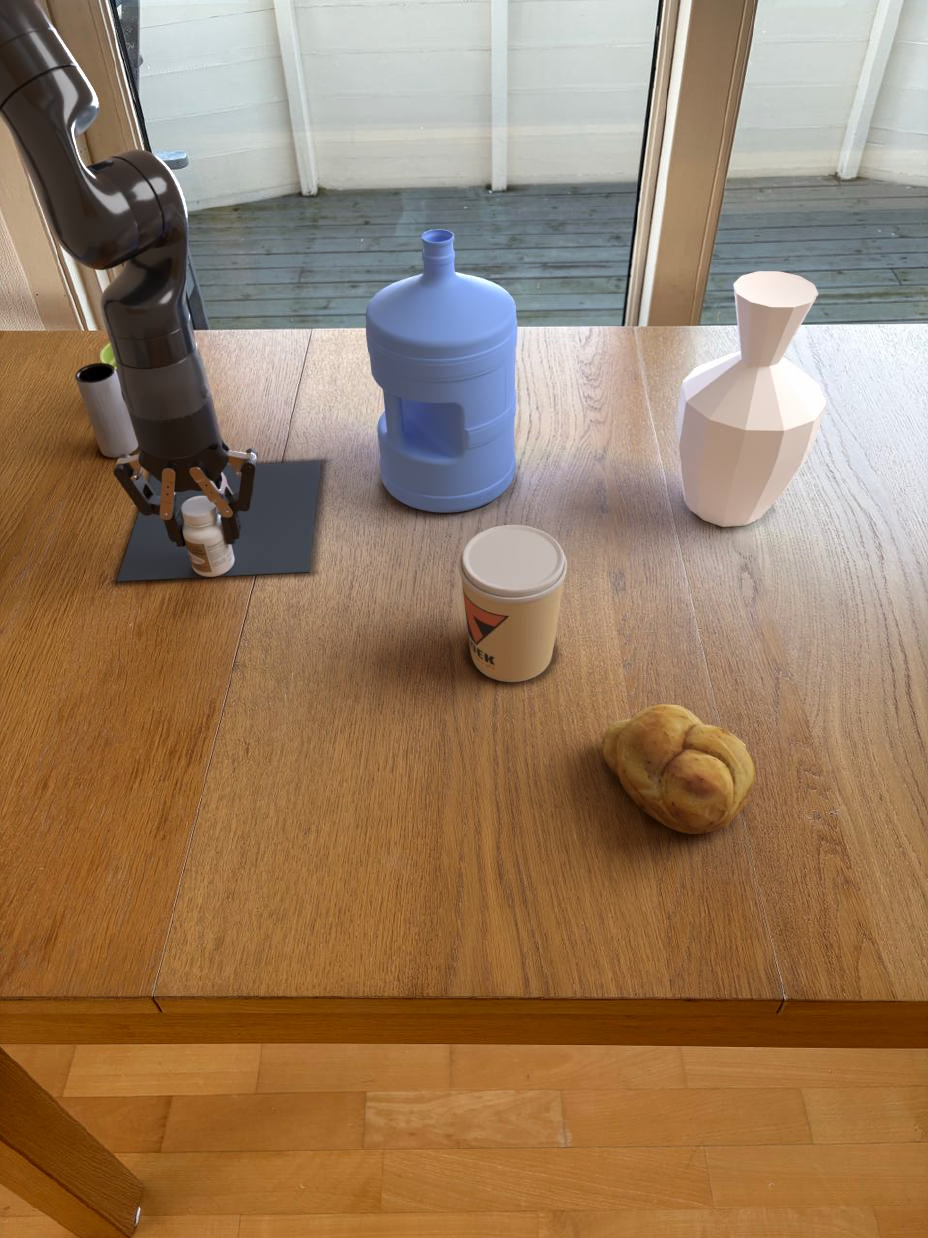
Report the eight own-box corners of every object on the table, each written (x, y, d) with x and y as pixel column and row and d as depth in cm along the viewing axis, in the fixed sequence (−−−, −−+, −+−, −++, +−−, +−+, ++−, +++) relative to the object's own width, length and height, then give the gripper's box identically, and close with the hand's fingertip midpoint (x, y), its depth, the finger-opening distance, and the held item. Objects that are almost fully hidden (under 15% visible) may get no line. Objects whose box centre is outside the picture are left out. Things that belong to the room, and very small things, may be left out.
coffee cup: (447, 634, 92) (442, 538, 83) (535, 607, 94) (539, 511, 86) (485, 701, 86) (483, 605, 77) (578, 671, 88) (586, 574, 80)
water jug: (466, 423, 118) (461, 192, 99) (542, 485, 109) (552, 242, 89) (356, 465, 112) (327, 228, 93) (426, 534, 103) (409, 286, 83)
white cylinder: (103, 461, 114) (77, 385, 107) (98, 442, 117) (72, 367, 110) (141, 452, 115) (118, 376, 108) (135, 433, 118) (111, 358, 111)
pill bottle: (184, 564, 100) (167, 505, 95) (220, 545, 102) (205, 486, 97) (206, 584, 98) (190, 525, 92) (243, 564, 100) (229, 506, 94)
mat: (117, 581, 98) (116, 581, 98) (153, 469, 113) (152, 468, 113) (309, 572, 99) (309, 571, 99) (321, 461, 113) (321, 460, 113)
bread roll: (575, 766, 80) (581, 705, 75) (654, 710, 84) (665, 647, 79) (691, 870, 73) (708, 810, 67) (772, 802, 77) (793, 741, 72)
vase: (692, 554, 99) (734, 333, 82) (646, 476, 109) (674, 265, 92) (818, 534, 101) (885, 314, 84) (761, 459, 111) (811, 249, 94)
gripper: (252, 370, 89) (280, 515, 100) (98, 376, 88) (145, 521, 100) (242, 413, 83) (273, 561, 95) (78, 420, 83) (130, 567, 95)
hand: (207, 540), depth 98 cm, fingers closed on pill bottle, 4 cm apart
